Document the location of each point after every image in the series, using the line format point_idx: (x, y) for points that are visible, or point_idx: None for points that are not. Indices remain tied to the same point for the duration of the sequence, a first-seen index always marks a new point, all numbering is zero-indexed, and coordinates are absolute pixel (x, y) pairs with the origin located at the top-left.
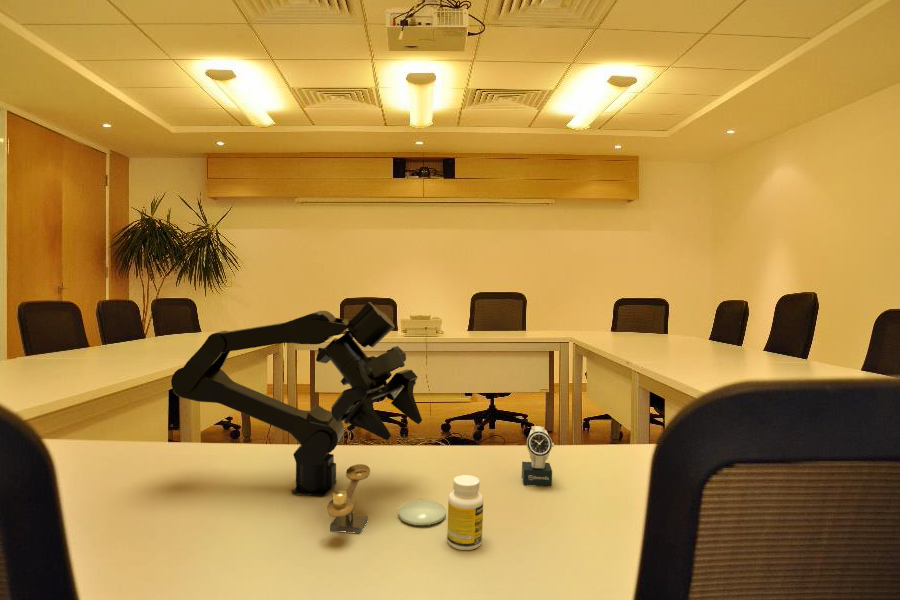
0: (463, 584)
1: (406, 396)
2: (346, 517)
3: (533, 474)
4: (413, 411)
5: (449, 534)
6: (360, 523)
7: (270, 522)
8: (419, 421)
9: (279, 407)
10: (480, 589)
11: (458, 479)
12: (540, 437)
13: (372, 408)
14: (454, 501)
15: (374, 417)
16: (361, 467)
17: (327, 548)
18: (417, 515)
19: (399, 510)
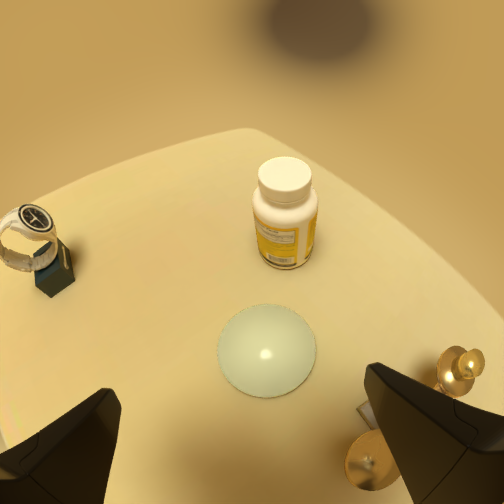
0: (354, 201)
1: (33, 490)
2: None
3: (62, 259)
4: (87, 433)
5: (312, 244)
6: None
7: None
8: (114, 397)
9: None
10: (346, 187)
11: (294, 182)
12: (26, 214)
13: (492, 444)
14: (317, 197)
15: (471, 406)
16: (364, 468)
17: None
18: (290, 340)
19: (300, 381)
